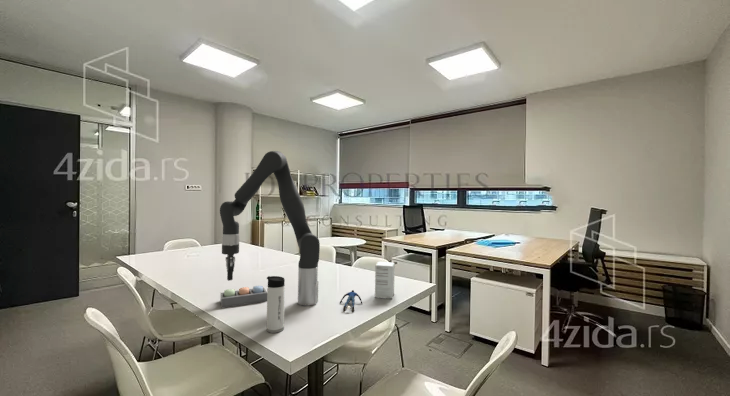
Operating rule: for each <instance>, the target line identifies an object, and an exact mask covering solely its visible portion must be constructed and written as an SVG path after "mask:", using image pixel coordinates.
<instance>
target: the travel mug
mask: <svg viewBox="0 0 730 396" xmlns="http://www.w3.org/2000/svg"><path fill="white" fill-rule="evenodd" d="M266 280H267V290H266V292H267V301H266V331H267V332H268V333H270V334H276V333H280V332H282V331H283V330H284V329H285V325H284V324H285V291H286V290H285V289H286V288H285V287H286V284H285V280H286V279H285V277H282V276H277V275H276V276H275V275H271V276H270V275H268V276H267V277H266Z"/></svg>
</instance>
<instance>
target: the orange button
mask: <svg viewBox="0 0 730 396" xmlns="http://www.w3.org/2000/svg"><path fill="white" fill-rule="evenodd" d="M249 289H250V288H249V287H248V286H246V287H243V286H242V287H240V288H238V291H239V295H245V294H249Z"/></svg>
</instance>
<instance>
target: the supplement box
mask: <svg viewBox="0 0 730 396" xmlns="http://www.w3.org/2000/svg"><path fill="white" fill-rule="evenodd" d="M395 264H396V263H395V262H392V261H389V262H388V261H377V262H376V264H375V269H374V270H375V271H374V272H375V274H374V275H375V276H374V278H375V280H374V283H375V285H374V287H375V288H374V296H375V297H380V298H379V299H386V298H394V295H395ZM375 297H374V298H375Z"/></svg>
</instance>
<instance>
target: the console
mask: <svg viewBox="0 0 730 396" xmlns="http://www.w3.org/2000/svg"><path fill="white" fill-rule="evenodd" d="M219 302H220V306H221V308H224V309H225V308H230V307H235V306H236V307H237V306H243V305H250V304H257V303H263V302H267V290H266V289H265V287H264V286H263V292H260V293H253V288H249V294H245V295H239V290H235V296H229V297H224V291H223V292H220V301H219Z"/></svg>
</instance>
